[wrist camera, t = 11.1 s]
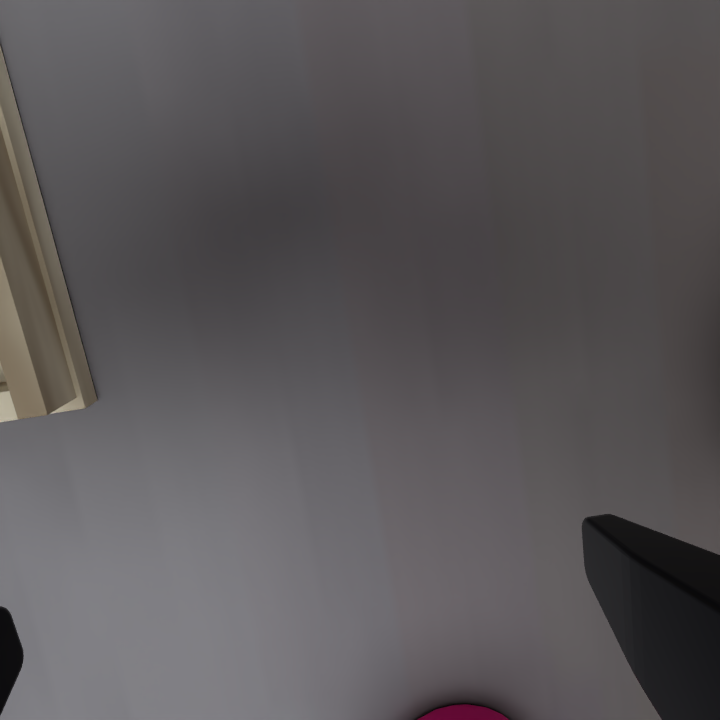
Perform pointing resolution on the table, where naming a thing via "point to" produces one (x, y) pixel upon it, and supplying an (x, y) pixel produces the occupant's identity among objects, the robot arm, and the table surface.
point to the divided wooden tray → (32, 290)
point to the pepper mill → (463, 713)
